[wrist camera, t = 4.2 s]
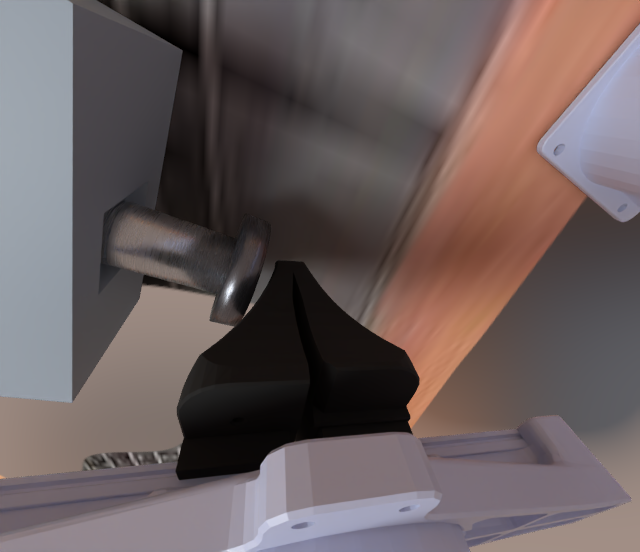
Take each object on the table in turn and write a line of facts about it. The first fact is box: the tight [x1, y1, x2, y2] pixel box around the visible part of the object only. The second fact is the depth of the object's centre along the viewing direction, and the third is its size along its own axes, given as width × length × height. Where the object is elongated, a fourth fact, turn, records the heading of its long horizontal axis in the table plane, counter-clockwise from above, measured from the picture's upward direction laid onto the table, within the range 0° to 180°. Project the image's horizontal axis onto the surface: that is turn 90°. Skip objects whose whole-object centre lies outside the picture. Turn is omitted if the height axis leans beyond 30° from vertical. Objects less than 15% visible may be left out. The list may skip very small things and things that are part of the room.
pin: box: [101, 199, 271, 327], centre depth 9 cm, size 9×5×5 cm, turn 62°
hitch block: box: [0, 0, 183, 403], centre depth 9 cm, size 3×12×6 cm, turn 153°
